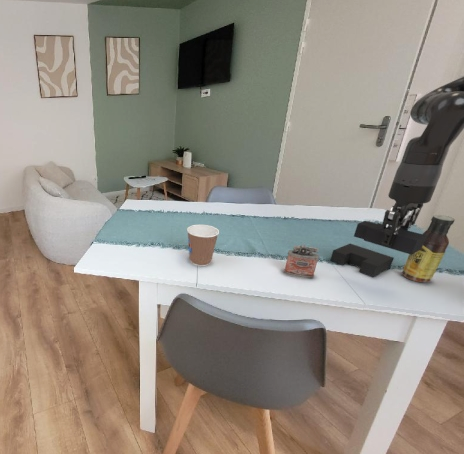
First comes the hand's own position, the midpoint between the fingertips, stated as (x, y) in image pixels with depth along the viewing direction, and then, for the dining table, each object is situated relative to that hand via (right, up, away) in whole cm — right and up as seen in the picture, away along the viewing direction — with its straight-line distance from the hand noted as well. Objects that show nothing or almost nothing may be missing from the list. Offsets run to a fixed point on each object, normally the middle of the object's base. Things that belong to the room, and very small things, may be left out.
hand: (391, 243), depth 77 cm
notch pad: (+7, -8, +18) cm, 21 cm away
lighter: (-15, -11, +14) cm, 24 cm away
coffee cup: (-43, -8, +25) cm, 50 cm away
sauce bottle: (+17, -11, +10) cm, 22 cm away
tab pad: (-1, 0, +1) cm, 1 cm away
